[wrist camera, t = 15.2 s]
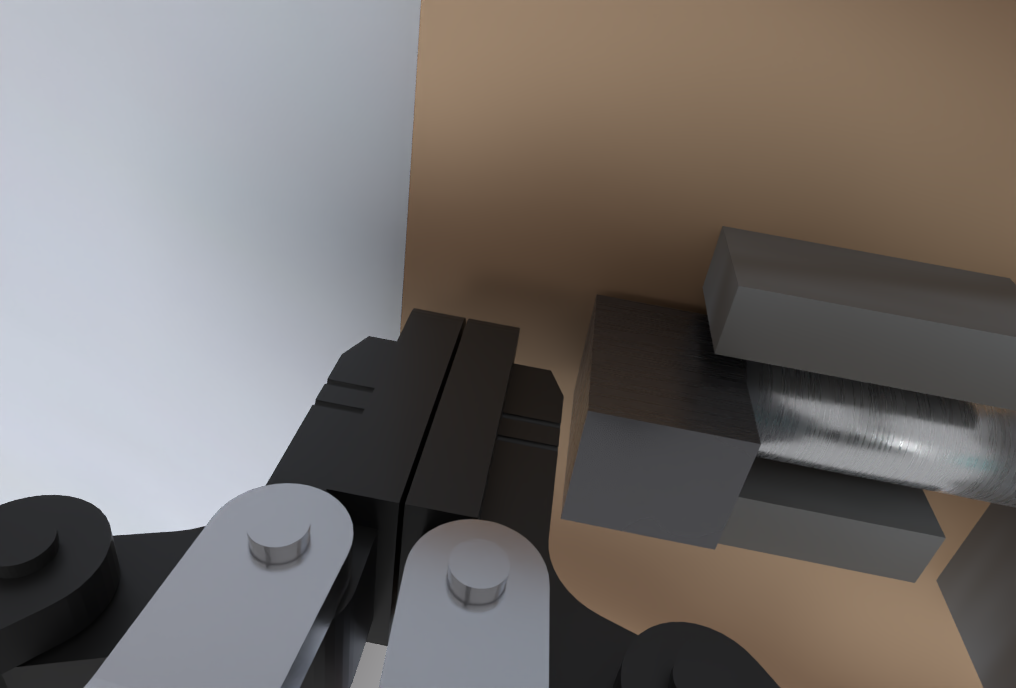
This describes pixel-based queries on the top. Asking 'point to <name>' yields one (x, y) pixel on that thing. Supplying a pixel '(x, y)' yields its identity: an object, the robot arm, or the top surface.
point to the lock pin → (748, 429)
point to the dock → (750, 282)
